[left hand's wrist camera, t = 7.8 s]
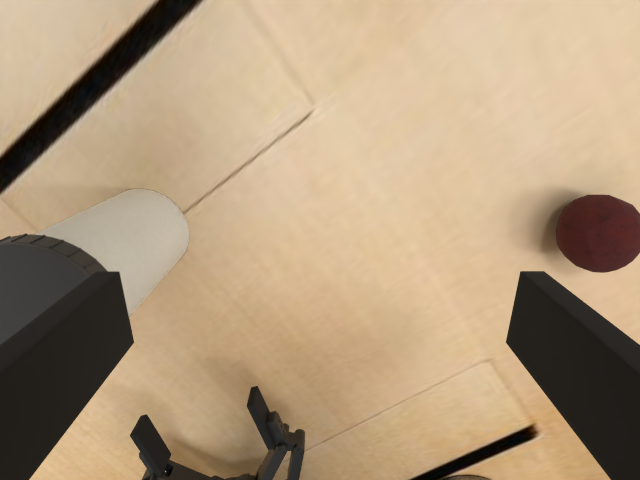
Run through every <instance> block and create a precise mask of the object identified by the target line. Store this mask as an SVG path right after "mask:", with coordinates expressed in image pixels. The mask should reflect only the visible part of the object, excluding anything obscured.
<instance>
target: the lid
mask: <svg viewBox="0 0 640 480" xmlns="http://www.w3.org/2000/svg"><path fill="white" fill-rule="evenodd" d="M96 271H107V270H106V269H105V268H104V267H103V266H102V265H101V263H99V262H98V261H97V259H96V258H94V257H92V256H91V255H90V254H88V253H87V252H85V251H84V250H82V249H81V248H79V247H77V246H75V245H73V244H71V243H68V242H66V241H64V240H63V239H62V240H60V239H57V238H54V237H49V236H45V235H27V234H24V235H19V236H13V237H10V236H8V237H6V238H4V239H2V240H0V345H1V344H2V343H4V342H5V341H6V340H8V339H9V338H10V337H11V336H13V335H14V334H15V333H17V332H18V331H19V330H21V329H22V328H23V327H24V326H26V325H27V324H28V323H30V322H31V321H32V320H34V319H35V318H36V317H37V316H39V315H40V314H41V313H43V312H44V311H45V310H47V309H48V308H49V307H50V306H52V305H53V304H54V303H56V302H57V301H58V300H60V299H61V298H62V297H63V296H65V295H66V294H67V293H69V292H70V291H71V290H73V289H74V288H75V287H76V286H78V285H79V284H80V283H82V282H83V281H84V280H86V279H87V278H88V277H89V276H91V275H92V274H93V273H95V272H96Z"/></svg>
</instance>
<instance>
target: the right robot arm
mask: <svg viewBox="0 0 640 480" xmlns="http://www.w3.org/2000/svg"><path fill="white" fill-rule="evenodd" d="M247 408H248V410H249V412H250V414H251V416H252V418H253V420H254V422H255V424H256V426H257V428H258V430H259V432H260V434H261V436H262V438H263V440H264V442H265V444H266V446H267V448H268V450H269V452H268V454H267V456H266V458H265V460H264V461H263V463H262V465H260V467H259V469H258V471H257V473H256V475H255V476H253V475H249V473H248V474H244V475H242V476H239V477H232V478H227V479H223V478H221V477H218V476H213V477H208V476H206V475H204V474H201V473H199V472H197V471H194V470H192V469H189V468H187V467H185V466H182V465H180V464H178V463H175V462H173V461H171V460H169V458H170V456H171V453H170V451H169V450H168V448H167V446H166V445H165V443H164V441H163V440H162V438H161V437H160V435H159V433H158V432H157V430H156V428H155V427H154V425H153V424H152V422H151V420H150V419H149V417H148V416H147V414H146V415H143V416H141V417H140V418H139V420H138V422H137V424H136V426H135V427H134V429H133V431H132V433H131V434H130V437H131V438H132V440H133V441H134V443H135V444H136V446H137V447H138V449H139V450H140V453H139V457H140V459H141V460H142V462H143V463H144V465H145V466H146V468H147V470H146V472H145V474H144V476H143V478H142V480H272V479H273V477H274V475H275V473H276V471H277V469H278V468H279V466H280V464H281V462H282V460H283V458H284V456H285V454H286V452H287V451H291V457H290V462H289V468H288V476H287V479H286V480H299V476H300V470H301V465H302V460H303V455H304V444H305V432H304V431H303V430H301V429H298V430H296V431H295V433H291V432H289V425H288V424H285V423H282V421H281V418H280V416H279V414H278V413H277V412H276V411H274V412H269V409H268V407H267V405H266V403H265V401H264V399H263V397H262V394H261V392H260V390H259V388H258V386H255V387H251V390H250V395H249V399H248V403H247ZM165 470H166V472H165ZM444 480H489V479H486V478H482V477H476V476H458V477H452V478H447V479H444Z"/></svg>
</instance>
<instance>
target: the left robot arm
mask: <svg viewBox="0 0 640 480" xmlns="http://www.w3.org/2000/svg"><path fill="white" fill-rule="evenodd" d="M133 343H134V340H133V335H132V330H131V325H130V320H129V316H128V311H127V306H126V301H125V296H124V291H123V286H122V281H121V277H120V272H119V271H96V272H95V273H93V274H92V275H91V276H89V277H88V278H87V279H86V280H84V281H83V282H82V283H80V284H79V285H78V286H76V287H75V288H74V289H73V290H71V291H70V292H69V293H67V294H66V295H65V296H63V297H62V298H61V299H60V300H58V301H57V302H56V303H54V304H53V305H52V306H50V307H49V308H48V309H47V310H45V311H44V312H43V313H41V314H40V315H39V316H37V317H36V318H35V319H34V320H32V321H31V322H30V323H28V324H27V325H26V326H24V327H23V328H22V329H21V330H19V331H18V332H17V333H15V334H14V335H13V336H11V337H10V338H9V339H8V340H6V341H5V342H4V343H2V344H1V345H0V480H29V479H30V478H31V476H32V475H33V474H34V472H35V471H36V470H37V469H38V467H39V466H40V465H41V463H42V462H43V461H44V459H45V458H46V457H47V455H48V454H49V453H50V452H51V450H52V449H53V448H54V446H55V445H56V444H57V442H58V441H59V440H60V438H61V437H62V436H63V435H64V433H65V432H66V431H67V429H68V428H69V427H70V425H71V424H72V423H73V421H74V420H75V419H76V418H77V416H78V415H79V414H80V412H81V411H82V410H83V408H84V407H85V406H86V404H87V403H88V402H89V401H90V399H91V398H92V397H93V395H94V394H95V393H96V391H97V390H98V389H99V387H100V386H101V385H102V384H103V382H104V381H105V380H106V378H107V377H108V376H109V374H110V373H111V372H112V370H113V369H114V368H115V367H116V365H117V364H118V363H119V361H120V360H121V359H122V357H123V356H124V355H125V353H126V352H127V351H128V350H129V348H130V347H131V346H132V344H133ZM506 343H507V344H508V346H509V347H510V348H511V350H512V351H513V352H514V354H515V355H516V356H517V357H518V359H519V360H520V361H521V363H522V364H523V365H524V367H525V368H526V369H527V370H528V372H529V373H530V374H531V376H532V377H533V378H534V380H535V381H536V382H537V384H538V385H539V386H540V387H541V389H542V390H543V391H544V393H545V394H546V395H547V397H548V398H549V399H550V401H551V402H552V403H553V404H554V406H555V407H556V408H557V410H558V411H559V412H560V414H561V415H562V416H563V418H564V419H565V420H566V421H567V423H568V424H569V425H570V427H571V428H572V429H573V431H574V432H575V433H576V435H577V436H578V437H579V438H580V440H581V441H582V442H583V444H584V445H585V446H586V448H587V449H588V450H589V452H590V453H591V454H592V455H593V457H594V458H595V459H596V461H597V462H598V463H599V465H600V466H601V467H602V469H603V470H604V471H605V472H606V474H607V475H608V476H609V478H610V479H611V480H640V345H639V344H638V343H636V342H635V341H634V340H632V339H631V338H630V337H629V336H627V335H626V334H625V333H623V332H622V331H621V330H619V329H618V328H617V327H616V326H614V325H613V324H612V323H610V322H609V321H608V320H606V319H605V318H604V317H603V316H601V315H600V314H599V313H597V312H596V311H595V310H593V309H592V308H591V307H590V306H588V305H587V304H586V303H584V302H583V301H582V300H580V299H579V298H578V297H577V296H575V295H574V294H573V293H571V292H570V291H569V290H567V289H566V288H565V287H564V286H562V285H561V284H560V283H558V282H557V281H556V280H554V279H553V278H552V277H551V276H549V275H548V274H547V273H545V272H544V271H521V272H520V277H519V281H518V286H517V291H516V296H515V301H514V306H513V311H512V316H511V320H510V325H509V330H508V335H507V340H506Z"/></svg>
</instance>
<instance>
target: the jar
mask: <svg viewBox="0 0 640 480" xmlns="http://www.w3.org/2000/svg"><path fill="white" fill-rule="evenodd" d="M33 235H45V236H49V237H54V238H57V239H60V240H62V239H63V240H64V241H66V242H68V243H71V244H73V245H75V246H77V247H79V248H81V249H82V250H84V251H85V252H87V253H88V254H90V255H91V256H92V257H94V258H96V259H97V261H98V262H99V263H101V265H102V266H103V267H104V268H105V269H106V270H107V271H119V272H120V277H121V281H122V286H123V291H124V296H125V301H126V306H127V311H128V316H129V317H130V316H131V315H132V313H133V312H134V311H135V310H136V309H137V308H138V307H139V305H140V304H141V303H142V302H143V301H144V300H145V299H146V297H147V296H148V295H149V294H150V293H151V292H152V290H153V289H154V288H155V287H156V286H157V285H158V284H159V282H160V281H161V280H162V279H163V278H164V277H165V276H166V274H167V273H168V272H169V271H170V270H171V269H172V268H173V266H174V265H175V264H176V263H177V262H178V261H179V260H180V258H181V257H182V256H183V255H184V253H185V251H186V249H187V247H188V243H189V228H188V224H187V221H186V219H185V217H184V215H183V213H182V212H181V210H180V209H179V208H178V207H177V205H176V204H175V203H174V202H172V201H171V200H170V199H169V198H167V197H165V196H164V195H162V194H160V193H158V192H155V191H152V190H147V189H131V190H127V191H124V192H122V193H120V194H118V195H115V196H113V197H111V198H109V199H107V200H105V201H103V202H101V203H99V204H96V205H94V206H92V207H90V208H88V209H86V210H84V211H82V212H80V213H77V214H75V215H73V216H71V217H69V218H67V219H65V220H63V221H61V222H58V223H56V224H54V225H52V226H50V227H48V228H46V229H44V230H42V231H39V232H37V233H35V234H33Z"/></svg>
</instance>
